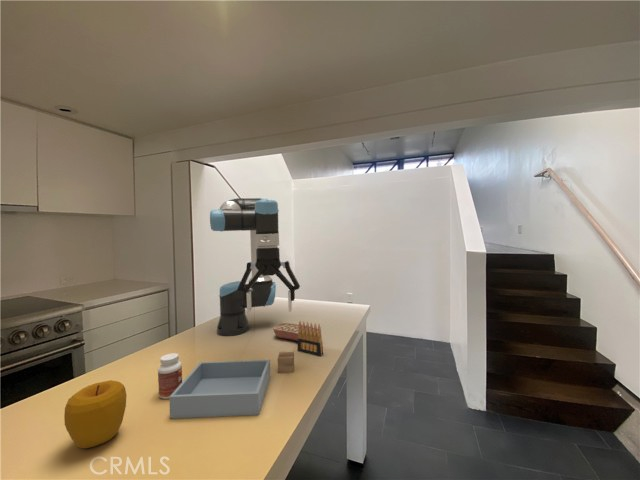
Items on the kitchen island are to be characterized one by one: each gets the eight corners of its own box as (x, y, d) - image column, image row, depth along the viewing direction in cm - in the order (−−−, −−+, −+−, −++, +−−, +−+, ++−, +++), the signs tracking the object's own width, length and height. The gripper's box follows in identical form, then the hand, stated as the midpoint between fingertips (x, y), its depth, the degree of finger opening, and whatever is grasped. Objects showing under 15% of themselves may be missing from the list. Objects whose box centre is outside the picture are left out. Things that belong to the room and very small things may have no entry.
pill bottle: (183, 394, 79) (182, 357, 79) (159, 402, 76) (158, 363, 76) (181, 385, 84) (180, 350, 84) (158, 392, 81) (156, 355, 81)
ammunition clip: (323, 354, 103) (322, 323, 103) (320, 356, 101) (320, 325, 101) (300, 349, 108) (299, 319, 108) (297, 351, 107) (296, 321, 107)
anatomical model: (269, 339, 120) (269, 328, 120) (283, 332, 129) (283, 321, 129) (312, 349, 109) (312, 337, 108) (324, 340, 117) (324, 329, 117)
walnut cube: (280, 366, 95) (279, 351, 95) (294, 365, 95) (293, 351, 95) (278, 373, 90) (277, 358, 90) (293, 372, 90) (292, 357, 90)
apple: (76, 469, 54) (73, 406, 54) (58, 447, 60) (55, 390, 60) (136, 434, 64) (134, 380, 63) (116, 418, 69) (113, 369, 69)
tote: (200, 379, 88) (200, 362, 87) (270, 376, 88) (269, 359, 88) (170, 418, 69) (169, 396, 69) (258, 414, 69) (258, 393, 69)
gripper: (226, 248, 85) (228, 315, 86) (304, 246, 85) (306, 313, 85) (233, 247, 93) (236, 309, 93) (306, 245, 93) (308, 307, 93)
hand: (269, 311), depth 89 cm, fingers open, 13 cm apart
